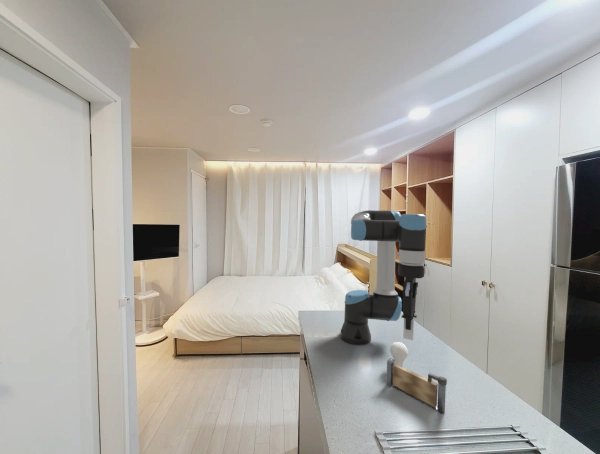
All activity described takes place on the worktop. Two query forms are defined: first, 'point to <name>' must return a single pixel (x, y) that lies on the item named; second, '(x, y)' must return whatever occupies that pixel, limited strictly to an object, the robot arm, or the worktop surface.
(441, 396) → the gate frame
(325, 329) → the worktop surface
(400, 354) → the light bulb
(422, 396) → the gate
